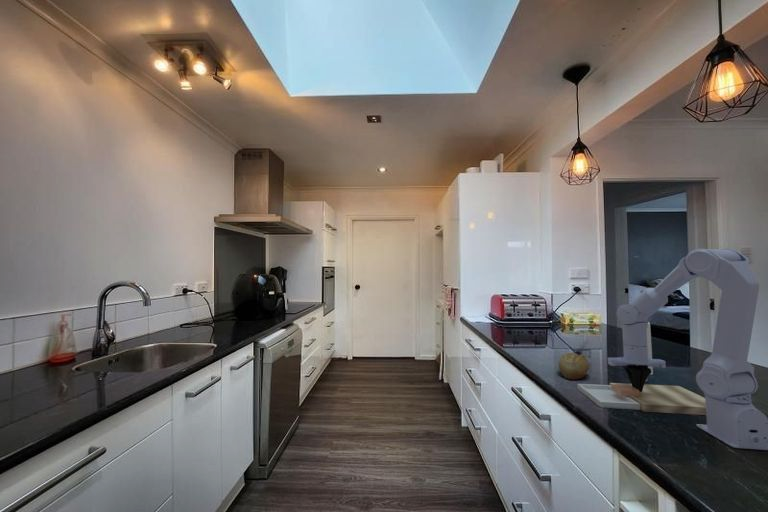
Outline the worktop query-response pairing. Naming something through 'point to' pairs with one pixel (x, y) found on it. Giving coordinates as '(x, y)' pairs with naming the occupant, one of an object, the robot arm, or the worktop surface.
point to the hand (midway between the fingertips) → (637, 390)
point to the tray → (607, 397)
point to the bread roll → (573, 365)
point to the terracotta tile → (625, 390)
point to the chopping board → (669, 400)
